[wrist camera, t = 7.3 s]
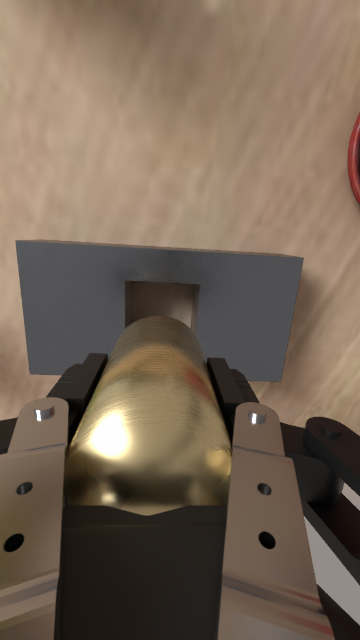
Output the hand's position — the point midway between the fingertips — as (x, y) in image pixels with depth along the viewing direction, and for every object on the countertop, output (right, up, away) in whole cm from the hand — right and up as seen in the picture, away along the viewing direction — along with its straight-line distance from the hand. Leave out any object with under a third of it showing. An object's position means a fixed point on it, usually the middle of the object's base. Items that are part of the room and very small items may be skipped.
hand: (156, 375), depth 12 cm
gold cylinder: (0, +1, +2) cm, 2 cm away
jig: (-1, +4, +12) cm, 13 cm away
